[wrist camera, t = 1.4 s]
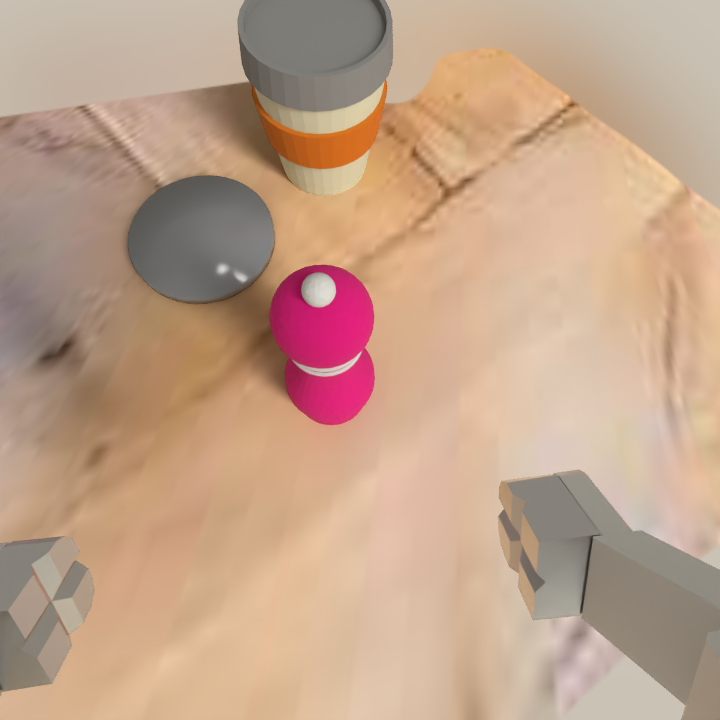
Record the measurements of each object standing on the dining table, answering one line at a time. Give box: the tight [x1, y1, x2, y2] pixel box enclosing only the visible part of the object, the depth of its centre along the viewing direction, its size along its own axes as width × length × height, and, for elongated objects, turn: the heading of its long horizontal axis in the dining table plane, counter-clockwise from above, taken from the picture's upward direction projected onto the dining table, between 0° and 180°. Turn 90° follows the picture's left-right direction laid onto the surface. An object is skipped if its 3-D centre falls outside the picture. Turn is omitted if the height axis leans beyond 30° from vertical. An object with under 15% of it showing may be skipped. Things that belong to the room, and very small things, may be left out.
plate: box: [128, 176, 275, 304], centre depth 46 cm, size 14×14×1 cm
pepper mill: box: [270, 265, 375, 425], centre depth 33 cm, size 7×7×20 cm
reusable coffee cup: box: [238, 0, 393, 196], centre depth 43 cm, size 12×13×15 cm
